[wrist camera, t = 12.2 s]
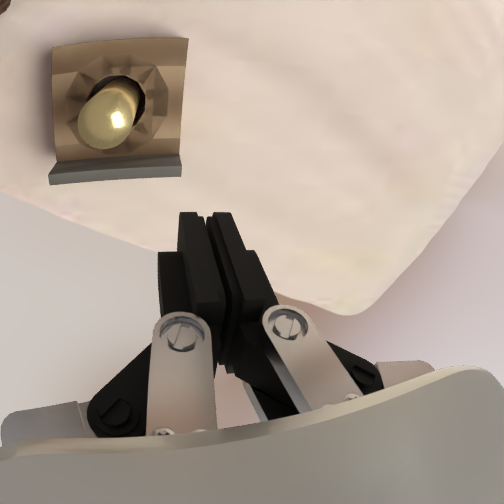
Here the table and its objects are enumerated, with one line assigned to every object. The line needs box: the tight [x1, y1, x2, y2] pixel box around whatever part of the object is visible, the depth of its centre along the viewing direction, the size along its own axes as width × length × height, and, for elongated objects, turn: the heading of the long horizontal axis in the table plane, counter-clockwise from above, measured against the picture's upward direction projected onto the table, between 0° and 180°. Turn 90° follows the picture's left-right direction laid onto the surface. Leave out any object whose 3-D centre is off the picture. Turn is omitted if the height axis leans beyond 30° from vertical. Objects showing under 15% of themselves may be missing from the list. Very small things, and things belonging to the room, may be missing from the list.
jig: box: [48, 38, 189, 185], centre depth 24 cm, size 12×12×6 cm
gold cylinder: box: [78, 78, 140, 149], centre depth 22 cm, size 4×4×10 cm
